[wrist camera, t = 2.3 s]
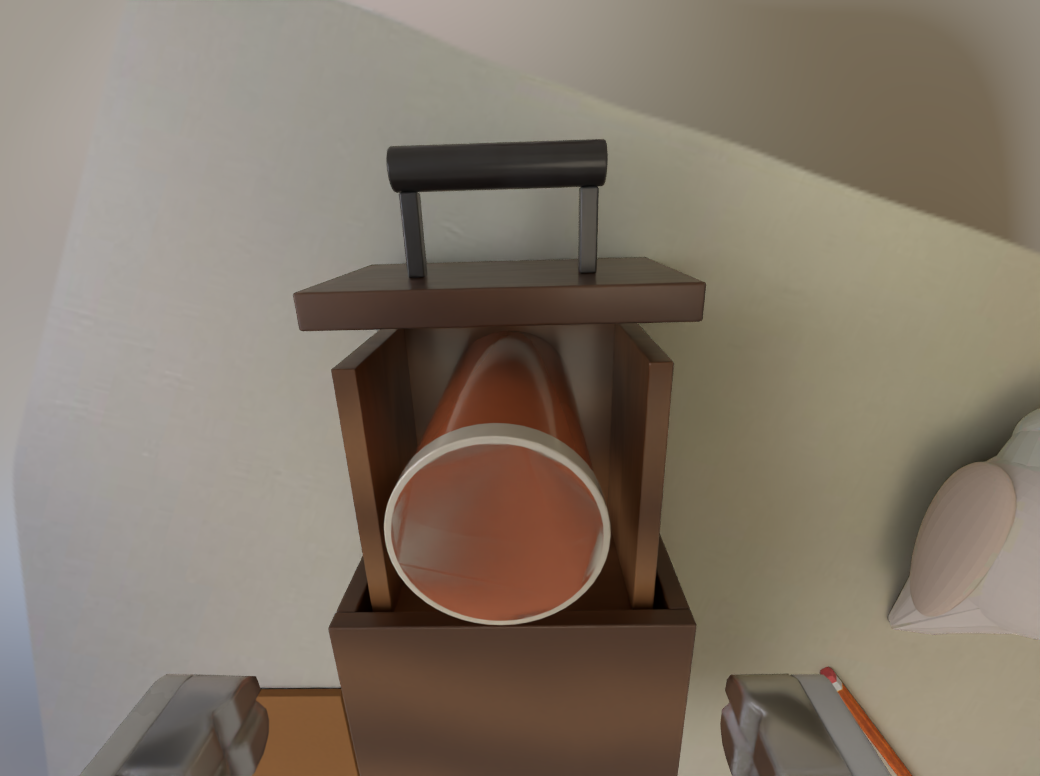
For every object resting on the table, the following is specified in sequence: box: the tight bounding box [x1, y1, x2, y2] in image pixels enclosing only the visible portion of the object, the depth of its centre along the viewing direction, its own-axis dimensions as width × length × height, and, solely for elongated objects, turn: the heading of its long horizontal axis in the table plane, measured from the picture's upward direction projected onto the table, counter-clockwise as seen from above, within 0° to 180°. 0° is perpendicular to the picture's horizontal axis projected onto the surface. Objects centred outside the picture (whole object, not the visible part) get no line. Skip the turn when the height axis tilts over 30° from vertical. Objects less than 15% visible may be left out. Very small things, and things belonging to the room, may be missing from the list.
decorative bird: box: [888, 408, 1040, 640], centre depth 24 cm, size 9×16×8 cm, turn 174°
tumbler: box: [384, 330, 611, 625], centre depth 18 cm, size 6×6×11 cm
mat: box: [252, 689, 360, 776], centre depth 34 cm, size 12×12×1 cm
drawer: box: [293, 139, 706, 612], centre depth 20 cm, size 18×12×8 cm
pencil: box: [820, 667, 912, 776], centre depth 33 cm, size 1×18×1 cm, turn 37°
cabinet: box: [329, 533, 696, 776], centre depth 25 cm, size 15×14×10 cm
